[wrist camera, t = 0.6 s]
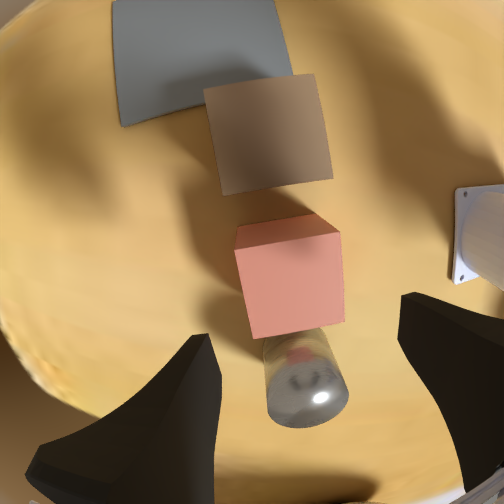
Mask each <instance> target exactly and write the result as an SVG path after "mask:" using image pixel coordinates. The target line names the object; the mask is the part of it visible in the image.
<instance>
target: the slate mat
mask: <svg viewBox="0 0 504 504" xmlns="http://www.w3.org/2000/svg"><path fill="white" fill-rule="evenodd" d="M113 46H114V63H115V76H116V86H117V96H118V104H119V112H120V120H121V127H127V126H130V125H133V124H136V123H139V122H142V121H145V120H148V119H152V118H155V117H158V116H162V115H165V114H169V113H172V112H176V111H180V110H183V109H187V108H191V107H196V106H200V105H204V104H206V103H205V98H204V92H203V89H207V88H212V87H217V86H222V85H227V84H232V83H238V82H244V81H250V80H257V79H264V78H272V77H281V76H292V75H293V72H292V68H291V63H290V59H289V55H288V51H287V47H286V43H285V40H284V36H283V32H282V28H281V25H280V21H279V18H278V14H277V11H276V8H275V4H274V1H273V0H116V1H114V2H113Z"/></svg>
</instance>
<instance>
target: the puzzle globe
mask: <svg viewBox="0 0 504 504" xmlns="http://www.w3.org/2000/svg"><path fill="white" fill-rule="evenodd" d="M343 504H385V503H378V502H351V503H343Z"/></svg>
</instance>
